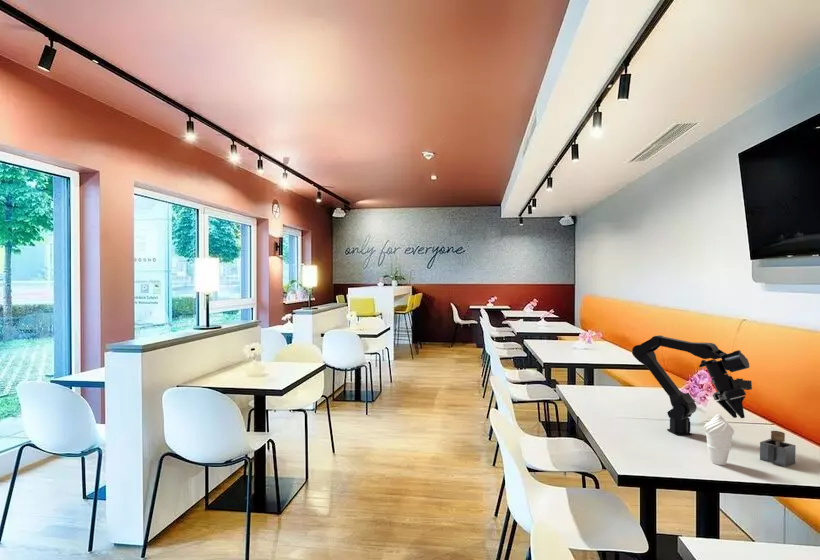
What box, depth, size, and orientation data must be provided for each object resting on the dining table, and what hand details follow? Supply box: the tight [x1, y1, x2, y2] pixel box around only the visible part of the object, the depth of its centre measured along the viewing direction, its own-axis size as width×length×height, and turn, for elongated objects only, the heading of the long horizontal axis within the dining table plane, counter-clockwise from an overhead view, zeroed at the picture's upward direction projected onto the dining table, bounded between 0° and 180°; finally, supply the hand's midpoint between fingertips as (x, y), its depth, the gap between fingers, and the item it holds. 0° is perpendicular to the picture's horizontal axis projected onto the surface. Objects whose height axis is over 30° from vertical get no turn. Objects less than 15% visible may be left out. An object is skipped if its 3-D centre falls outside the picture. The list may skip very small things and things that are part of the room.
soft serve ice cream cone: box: [703, 413, 735, 466], centre depth 154 cm, size 8×8×16 cm
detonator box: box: [759, 438, 797, 468], centre depth 156 cm, size 7×8×6 cm
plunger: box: [770, 430, 786, 447], centre depth 156 cm, size 5×5×8 cm
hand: (739, 417), depth 168 cm, fingers open, 9 cm apart
